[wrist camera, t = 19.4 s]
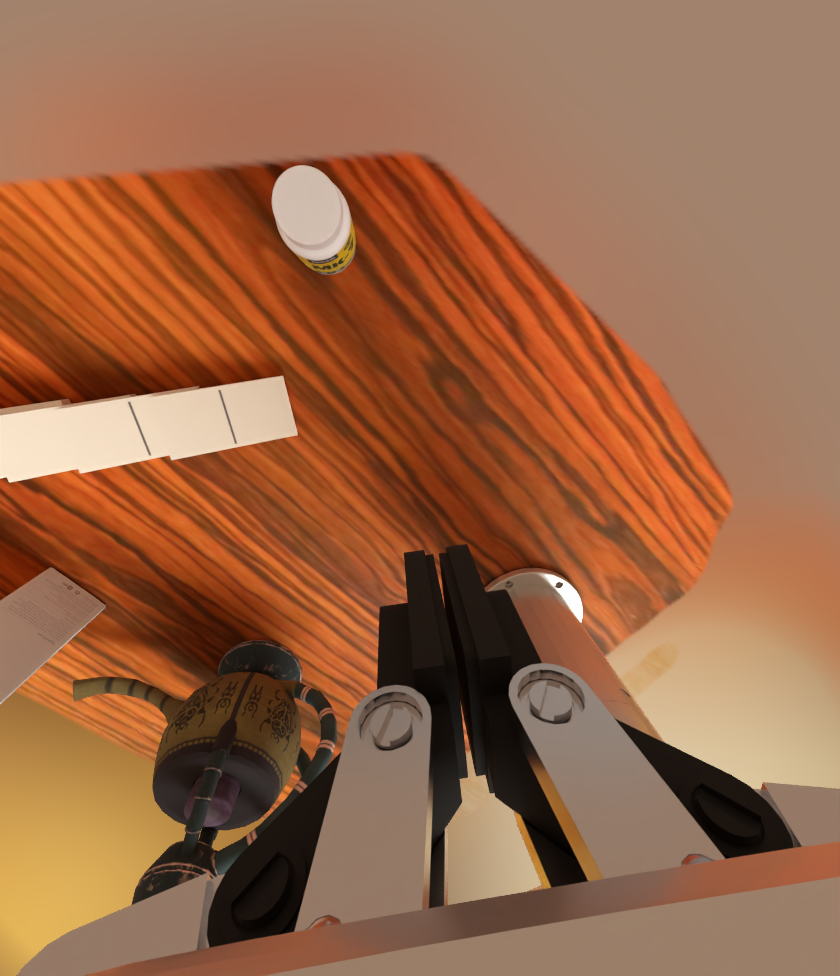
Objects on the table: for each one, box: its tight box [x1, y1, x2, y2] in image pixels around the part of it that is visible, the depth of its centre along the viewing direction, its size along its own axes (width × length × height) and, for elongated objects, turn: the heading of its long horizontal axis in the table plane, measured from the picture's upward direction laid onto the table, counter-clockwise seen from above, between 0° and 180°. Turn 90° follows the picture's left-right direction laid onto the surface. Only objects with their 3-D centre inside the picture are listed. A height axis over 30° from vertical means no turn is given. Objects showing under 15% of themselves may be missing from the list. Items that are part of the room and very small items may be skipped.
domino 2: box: [50, 386, 200, 474], centre depth 32 cm, size 2×5×10 cm
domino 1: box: [0, 394, 136, 483], centre depth 32 cm, size 2×5×10 cm
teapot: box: [73, 640, 337, 905], centre depth 33 cm, size 12×25×23 cm, turn 75°
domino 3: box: [148, 375, 298, 460], centre depth 33 cm, size 2×5×10 cm
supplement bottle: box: [272, 165, 356, 275], centre depth 27 cm, size 5×5×8 cm
